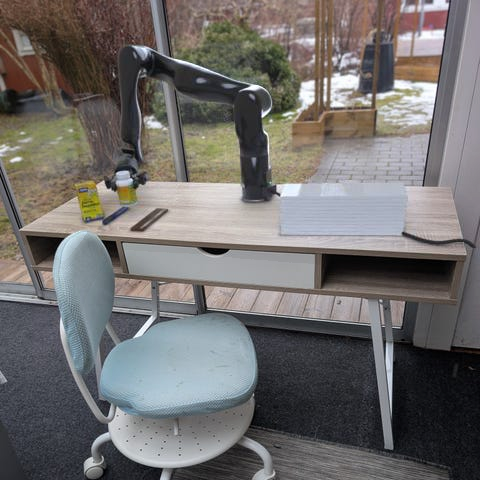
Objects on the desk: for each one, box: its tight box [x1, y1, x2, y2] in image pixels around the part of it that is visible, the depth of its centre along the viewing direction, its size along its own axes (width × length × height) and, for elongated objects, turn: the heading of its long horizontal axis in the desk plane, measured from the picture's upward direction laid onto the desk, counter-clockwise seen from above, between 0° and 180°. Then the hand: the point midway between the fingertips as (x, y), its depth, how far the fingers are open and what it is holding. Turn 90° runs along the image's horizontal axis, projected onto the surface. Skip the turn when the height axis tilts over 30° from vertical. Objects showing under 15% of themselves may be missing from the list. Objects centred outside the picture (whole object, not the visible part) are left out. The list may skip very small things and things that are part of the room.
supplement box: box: [73, 180, 105, 223], centre depth 149 cm, size 6×6×11 cm
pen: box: [101, 206, 130, 226], centre depth 150 cm, size 15×2×2 cm, turn 161°
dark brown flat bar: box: [130, 207, 169, 233], centre depth 146 cm, size 17×4×1 cm, turn 161°
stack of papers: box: [279, 181, 409, 237], centre depth 128 cm, size 32×11×11 cm, turn 80°
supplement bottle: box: [116, 171, 138, 208], centre depth 144 cm, size 5×5×10 cm
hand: (124, 187), depth 141 cm, fingers closed on supplement bottle, 5 cm apart
